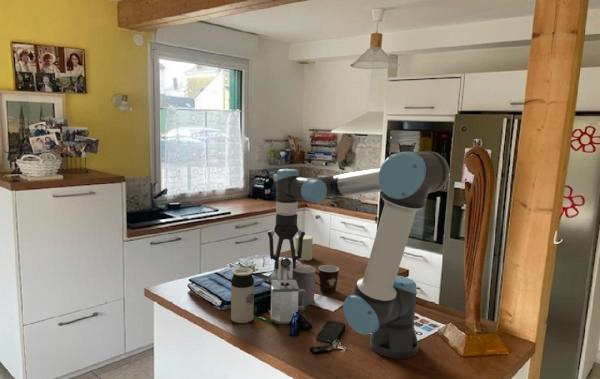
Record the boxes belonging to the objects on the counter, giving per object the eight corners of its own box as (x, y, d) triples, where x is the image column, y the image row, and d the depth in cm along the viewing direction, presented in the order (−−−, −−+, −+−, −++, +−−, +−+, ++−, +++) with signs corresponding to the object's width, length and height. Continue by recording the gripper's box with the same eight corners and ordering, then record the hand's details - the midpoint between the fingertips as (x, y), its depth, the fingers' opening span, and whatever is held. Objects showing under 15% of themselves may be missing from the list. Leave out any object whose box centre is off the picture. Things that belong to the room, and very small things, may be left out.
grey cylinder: (285, 303, 169) (287, 266, 167) (296, 294, 178) (297, 259, 175) (308, 308, 165) (310, 271, 163) (318, 299, 174) (319, 263, 171)
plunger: (295, 309, 152) (296, 260, 149) (275, 310, 151) (276, 261, 148) (292, 301, 159) (294, 254, 156) (273, 302, 158) (274, 255, 155)
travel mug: (226, 317, 155) (227, 269, 152) (245, 312, 160) (246, 265, 157) (238, 325, 149) (239, 276, 146) (257, 319, 154) (258, 271, 151)
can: (304, 254, 234) (305, 232, 232) (315, 258, 227) (316, 236, 225) (291, 257, 228) (292, 235, 226) (302, 261, 221) (303, 239, 219)
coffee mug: (338, 287, 186) (339, 265, 185) (337, 295, 178) (339, 272, 176) (311, 286, 188) (312, 264, 186) (310, 293, 179) (310, 270, 178)
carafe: (306, 324, 152) (307, 288, 150) (271, 325, 150) (272, 289, 148) (302, 311, 161) (303, 278, 159) (269, 313, 160) (269, 279, 158)
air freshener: (289, 289, 183) (289, 266, 182) (269, 288, 184) (270, 266, 182) (290, 280, 194) (290, 258, 193) (272, 279, 194) (272, 258, 193)
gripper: (308, 211, 154) (306, 273, 158) (262, 211, 152) (261, 274, 156) (311, 215, 147) (309, 280, 151) (263, 215, 145) (262, 281, 148)
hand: (285, 277), depth 153 cm, fingers closed on plunger, 4 cm apart
